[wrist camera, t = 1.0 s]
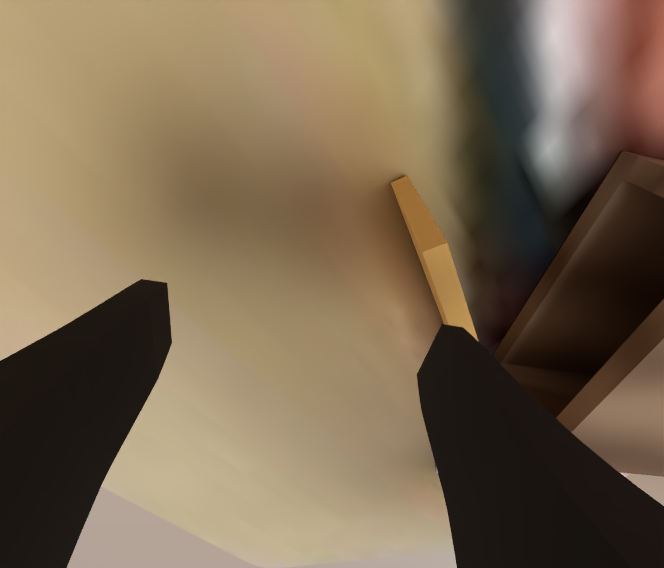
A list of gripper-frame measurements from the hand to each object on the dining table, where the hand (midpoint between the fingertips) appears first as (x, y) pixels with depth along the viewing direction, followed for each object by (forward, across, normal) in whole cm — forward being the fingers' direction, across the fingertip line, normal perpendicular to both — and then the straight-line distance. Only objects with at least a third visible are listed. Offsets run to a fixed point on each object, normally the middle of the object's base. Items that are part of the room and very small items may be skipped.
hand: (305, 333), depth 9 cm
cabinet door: (+9, -8, +4) cm, 13 cm away
